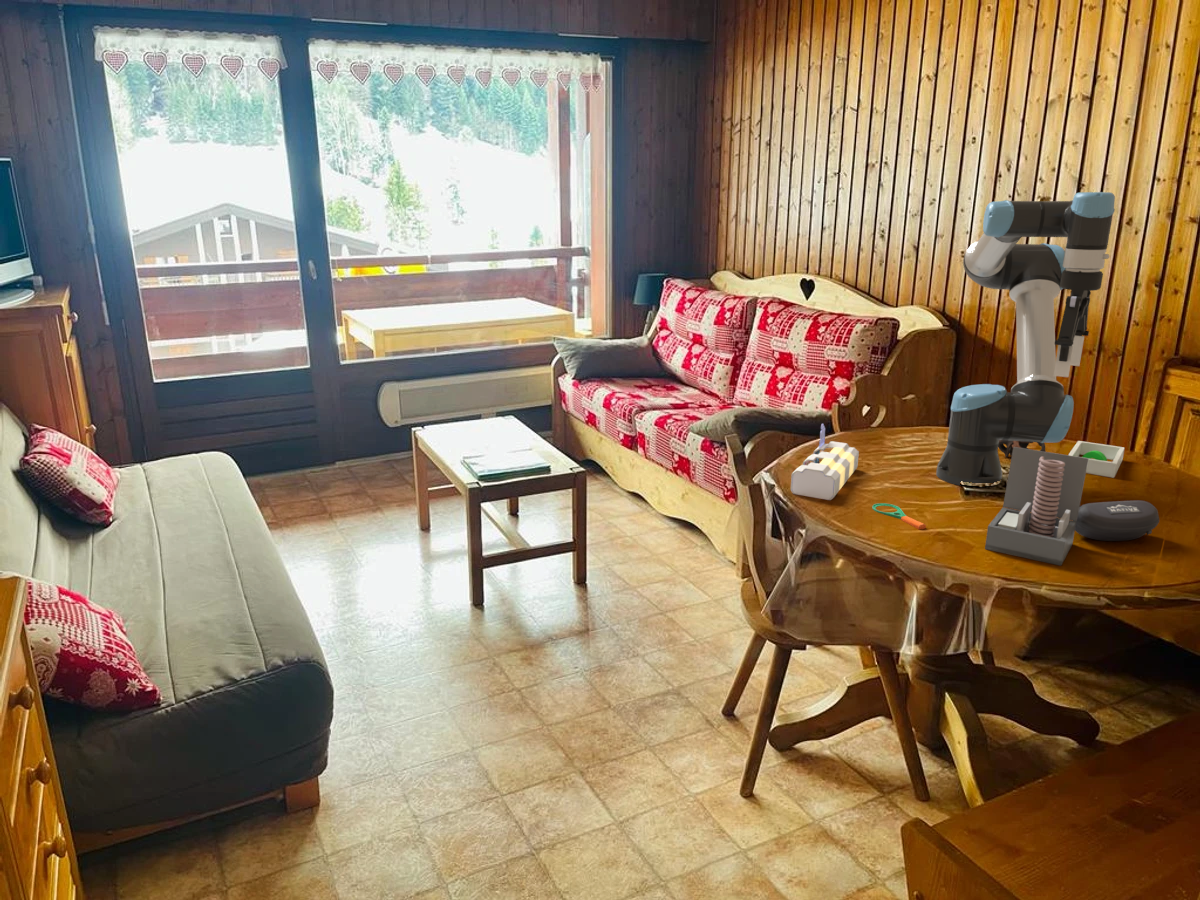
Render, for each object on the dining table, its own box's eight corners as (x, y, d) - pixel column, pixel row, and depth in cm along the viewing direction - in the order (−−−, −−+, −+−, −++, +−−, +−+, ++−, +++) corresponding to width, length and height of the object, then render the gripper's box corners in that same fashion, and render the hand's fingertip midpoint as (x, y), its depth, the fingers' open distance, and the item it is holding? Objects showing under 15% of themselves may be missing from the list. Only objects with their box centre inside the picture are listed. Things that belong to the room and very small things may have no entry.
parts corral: (1064, 470, 223) (1067, 456, 222) (1075, 454, 236) (1078, 440, 235) (1113, 478, 217) (1116, 463, 216) (1122, 461, 230) (1124, 447, 229)
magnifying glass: (865, 510, 199) (866, 503, 198) (887, 506, 201) (888, 499, 200) (910, 533, 185) (911, 526, 185) (933, 529, 187) (934, 522, 187)
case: (984, 548, 176) (996, 465, 171) (1003, 524, 189) (1014, 446, 183) (1061, 565, 168) (1075, 478, 163) (1074, 539, 181) (1088, 457, 175)
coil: (1050, 539, 178) (1063, 456, 173) (1053, 548, 174) (1067, 463, 168) (1025, 537, 179) (1038, 454, 174) (1028, 545, 175) (1041, 460, 170)
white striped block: (817, 468, 228) (820, 420, 224) (856, 473, 223) (861, 424, 219) (790, 497, 207) (793, 445, 203) (833, 504, 202) (837, 451, 198)
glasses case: (1087, 549, 176) (1093, 513, 174) (1054, 529, 186) (1060, 495, 184) (1167, 544, 178) (1174, 508, 176) (1131, 525, 188) (1137, 491, 186)
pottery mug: (1042, 459, 233) (1052, 438, 227) (1034, 482, 228) (1044, 461, 222) (996, 443, 238) (1005, 422, 232) (987, 466, 233) (995, 445, 227)
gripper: (1094, 276, 167) (1076, 383, 174) (1111, 265, 187) (1095, 362, 193) (1051, 274, 172) (1035, 378, 178) (1072, 264, 191) (1058, 359, 197)
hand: (1066, 370), depth 185 cm, fingers open, 13 cm apart
